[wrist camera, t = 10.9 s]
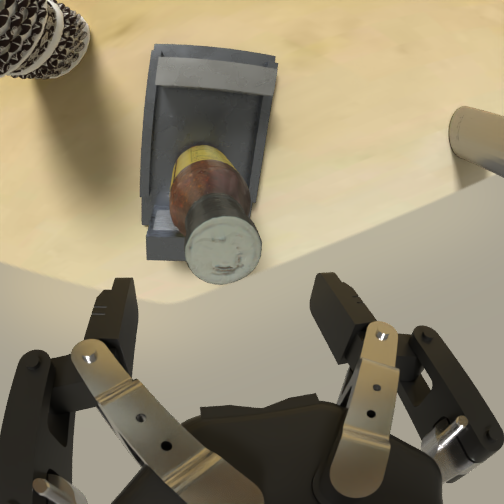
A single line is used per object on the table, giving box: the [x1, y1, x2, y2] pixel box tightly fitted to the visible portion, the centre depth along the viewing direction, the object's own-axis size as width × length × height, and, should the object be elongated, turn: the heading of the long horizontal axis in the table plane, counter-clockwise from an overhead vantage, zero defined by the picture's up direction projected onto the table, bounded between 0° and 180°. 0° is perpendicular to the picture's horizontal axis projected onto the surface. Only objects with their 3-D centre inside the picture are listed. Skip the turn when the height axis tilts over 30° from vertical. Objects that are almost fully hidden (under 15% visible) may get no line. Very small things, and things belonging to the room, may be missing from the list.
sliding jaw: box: [155, 57, 278, 96], centre depth 24 cm, size 10×2×7 cm, turn 81°
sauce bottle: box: [169, 145, 262, 285], centre depth 24 cm, size 6×6×20 cm
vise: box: [140, 44, 278, 261], centre depth 28 cm, size 13×21×9 cm, turn 172°
